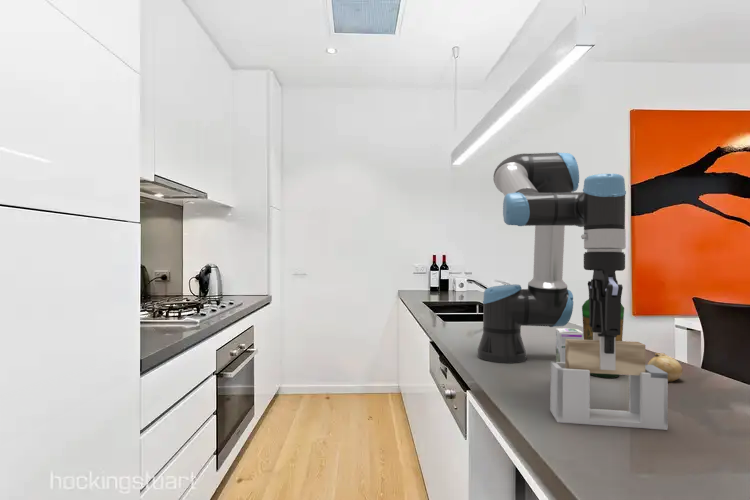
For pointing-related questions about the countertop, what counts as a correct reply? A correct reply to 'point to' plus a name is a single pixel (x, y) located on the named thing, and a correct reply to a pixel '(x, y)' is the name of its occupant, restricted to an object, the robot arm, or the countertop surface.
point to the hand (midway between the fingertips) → (603, 366)
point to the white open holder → (643, 410)
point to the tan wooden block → (588, 356)
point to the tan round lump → (667, 366)
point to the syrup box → (560, 340)
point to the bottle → (589, 333)
